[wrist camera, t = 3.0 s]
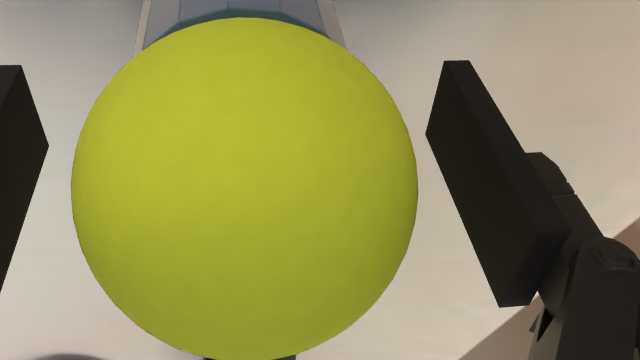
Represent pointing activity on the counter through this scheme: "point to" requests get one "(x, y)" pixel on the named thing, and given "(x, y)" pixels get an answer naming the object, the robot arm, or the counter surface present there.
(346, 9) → the counter surface
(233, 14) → the cup
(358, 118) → the ball
